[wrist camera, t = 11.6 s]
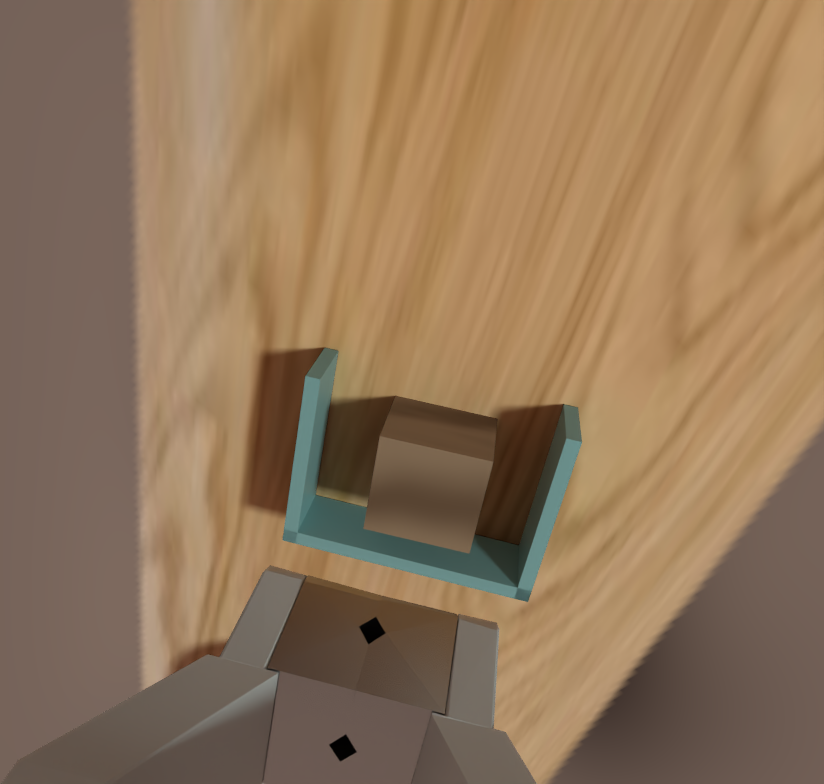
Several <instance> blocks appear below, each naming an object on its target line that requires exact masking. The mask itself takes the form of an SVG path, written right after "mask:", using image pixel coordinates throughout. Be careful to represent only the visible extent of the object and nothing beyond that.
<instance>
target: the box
mask: <svg viewBox="0 0 824 784" xmlns="http://www.w3.org/2000/svg"><path fill="white" fill-rule="evenodd" d="M337 357H338V351H337V350H333V349H328V348H324V350H323V351H322V353H321V354H320V355H319V357H318V358H317V360H316V361H315V363H314V364H313V366H312V367H311V369H310V370H309V372H308V373H307V374H306V376H305V383H304V390H303V397H302V405H301V412H300V419H299V426H298V433H297V440H296V448H295V455H294V462H293V469H292V476H291V483H290V491H289V498H288V505H287V512H286V519H285V526H284V534H283V540H284V541H288V542H292V543H296V544H300V545H303V546H307V547H311V548H315V549H319V550H323V551H327V552H331V553H335V554H339V555H343V556H347V557H351V558H355V559H359V560H363V561H367V562H371V563H375V564H379V565H383V566H387V567H391V568H395V569H399V570H403V571H407V572H411V573H415V574H419V575H423V576H427V577H431V578H435V579H439V580H443V581H447V582H451V583H455V584H458V585H462V586H466V587H470V588H474V589H478V590H482V591H486V592H490V593H494V594H498V595H502V596H506V597H510V598H514V599H518V600H522V601H526V602H528V600H529V597H530V594H531V591H532V588H533V585H534V582H535V579H536V576H537V573H538V570H539V568H540V565H541V562H542V559H543V556H544V553H545V550H546V547H547V544H548V541H549V538H550V535H551V532H552V529H553V526H554V523H555V520H556V517H557V514H558V511H559V508H560V505H561V503H562V500H563V497H564V494H565V491H566V488H567V485H568V482H569V479H570V476H571V473H572V470H573V467H574V464H575V461H576V458H577V455H578V452H579V449H580V446H581V443H582V439H581V430H580V421H579V413H578V408H577V407H573V406H569V405H563V408H562V412H561V415H560V418H559V421H558V424H557V427H556V431H555V434H554V437H553V440H552V443H551V446H550V449H549V453H548V456H547V459H546V462H545V465H544V468H543V471H542V475H541V478H540V481H539V484H538V487H537V490H536V494H535V497H534V500H533V503H532V506H531V509H530V512H529V516H528V519H527V522H526V525H525V528H524V531H523V534H522V538H521V541H520V544H519V545H515V544H511V543H507V542H503V541H499V540H495V539H491V538H487V537H483V536H479V535H475V534H474V538H473V542H472V546H471V550H470V553H465V552H460V551H456V550H452V549H447V548H443V547H439V546H435V545H430V544H426V543H422V542H418V541H413V540H409V539H405V538H401V537H396V536H392V535H388V534H384V533H379V532H375V531H371V530H367V529H363V527H364V522H365V516H366V511H367V508H366V507H362V506H358V505H354V504H350V503H346V502H342V501H338V500H334V499H330V498H326V497H322V496H317V495H316V489H317V483H318V477H319V471H320V464H321V458H322V452H323V445H324V439H325V433H326V426H327V420H328V414H329V408H330V401H331V395H332V389H333V382H334V376H335V370H336V363H337Z"/></svg>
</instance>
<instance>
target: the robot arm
mask: <svg viewBox="0 0 824 784" xmlns="http://www.w3.org/2000/svg"><path fill="white" fill-rule="evenodd" d="M498 641H499V627H498V625H497V623H496V622H491V621H487V620H483V619H478V618H474V617H470V616H466V615H461V614H458V616H457V614H454V613H450V612H446V611H442V610H438V609H434V608H430V607H426V606H422V605H418V604H414V603H410V602H405V601H401V600H397V599H393V598H389V597H385V596H381V595H377V594H374V593H370V592H367V591H363V590H359V589H356V588H352V587H349V586H345V585H342V584H338V583H334V582H331V581H327V580H324V579H320V578H316V577H313V576H309V575H308V576H306V575H303V574H299V573H296V572H292V571H289V570H285V569H281V568H278V567H274V566H271V565H270V566H269V567H268V568H267V569H266V570H265V571H264V572H263V573H262V575H261V577H260V579H259V581H258V583H257V585H256V587H255V589H254V591H253V593H252V595H251V597H250V599H249V600H248V602H247V604H246V606H245V608H244V610H243V612H242V614H241V616H240V618H239V620H238V622H237V624H236V626H235V628H234V630H233V632H232V633H231V635H230V637H229V639H228V641H227V643H226V645H225V647H224V649H223V651H222V653H221V655H220V657H217V656H212V655H208V654H207V655H205V656H204V657H202V658H200V659H198V660H196V661H195V662H193V663H191V664H189V665H187V666H186V667H184V668H182V669H180V670H179V671H177V672H175V673H173V674H171V675H170V676H168V677H166V678H164V679H162V680H161V681H159V682H157V683H155V684H153V685H152V686H150V687H148V688H146V689H145V690H143V691H141V692H139V693H137V694H136V695H134V696H132V697H130V698H128V699H127V700H125V701H123V702H121V703H119V704H118V705H116V706H114V707H112V708H111V709H109V710H107V711H105V712H103V713H102V714H100V715H98V716H96V717H94V718H93V719H91V720H89V721H87V722H86V723H84V724H82V725H80V726H79V727H77V728H75V729H73V730H71V731H70V732H68V733H66V734H64V735H63V736H61V737H59V738H57V739H55V740H53V741H52V742H50V743H48V744H46V745H44V746H43V747H41V748H39V749H37V750H35V751H34V752H32V753H30V754H28V755H27V756H25V757H23V758H21V759H20V760H18V761H17V762H16V764H15V765H14V767H13V768H12V769H11V771H10V772H9V773H8V775H7V776H6V777H5V779H4V780H3V781H2V783H1V784H536V782H535V780H534V779H533V777H532V775H531V774H530V772H529V770H528V769H527V767H526V765H525V764H524V762H523V760H522V759H521V757H520V755H519V754H518V752H517V750H516V749H515V747H514V745H513V744H512V742H511V740H510V739H509V737H508V735H507V734H506V732H503V731H500V730H496V729H493V728H494V711H495V693H496V676H497V659H498Z"/></svg>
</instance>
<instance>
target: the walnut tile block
mask: <svg viewBox="0 0 824 784" xmlns="http://www.w3.org/2000/svg"><path fill="white" fill-rule="evenodd" d="M496 430H497V419H496V418H492V417H487V416H483V415H478V414H474V413H470V412H465V411H461V410H456V409H452V408H447V407H443V406H439V405H434V404H430V403H425V402H421V401H416V400H412V399H407V398H403V397H399V396H395V398H394V401H393V403H392V406H391V408H390V411H389V414H388V416H387V419H386V421H385V424H384V427H383V429H382V432H381V434H380V438H379V443H378V449H377V455H376V460H375V466H374V471H373V477H372V483H371V488H370V494H369V499H368V505H367V511H366V516H365V522H364V527H363V529H367V530H371V531H375V532H379V533H384V534H388V535H392V536H396V537H401V538H405V539H409V540H413V541H418V542H422V543H426V544H430V545H435V546H439V547H443V548H447V549H452V550H456V551H460V552H465V553H470V550H471V546H472V542H473V538H474V534H475V531H476V527H477V523H478V519H479V515H480V511H481V508H482V504H483V500H484V496H485V492H486V489H487V485H488V481H489V477H490V473H491V469H492V466H493V462H494V451H495V441H496Z"/></svg>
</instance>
